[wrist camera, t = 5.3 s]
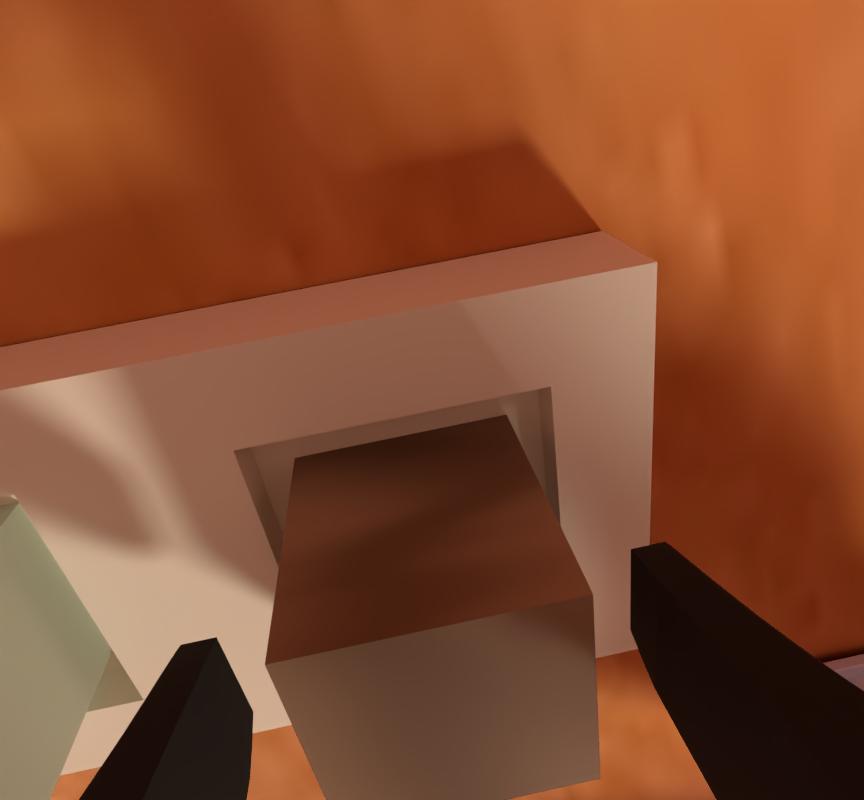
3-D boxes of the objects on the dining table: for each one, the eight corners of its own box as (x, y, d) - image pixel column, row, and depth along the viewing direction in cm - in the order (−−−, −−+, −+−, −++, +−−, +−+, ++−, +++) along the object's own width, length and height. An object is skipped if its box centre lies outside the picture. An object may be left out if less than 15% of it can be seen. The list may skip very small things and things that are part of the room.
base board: (602, 230, 12) (657, 262, 10) (608, 575, 17) (646, 647, 15) (-380, 420, 12) (-550, 497, 9) (-87, 723, 16) (-155, 822, 14)
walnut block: (506, 414, 12) (592, 594, 8) (524, 570, 15) (600, 778, 10) (295, 457, 12) (265, 664, 8) (344, 608, 14) (342, 837, 10)
